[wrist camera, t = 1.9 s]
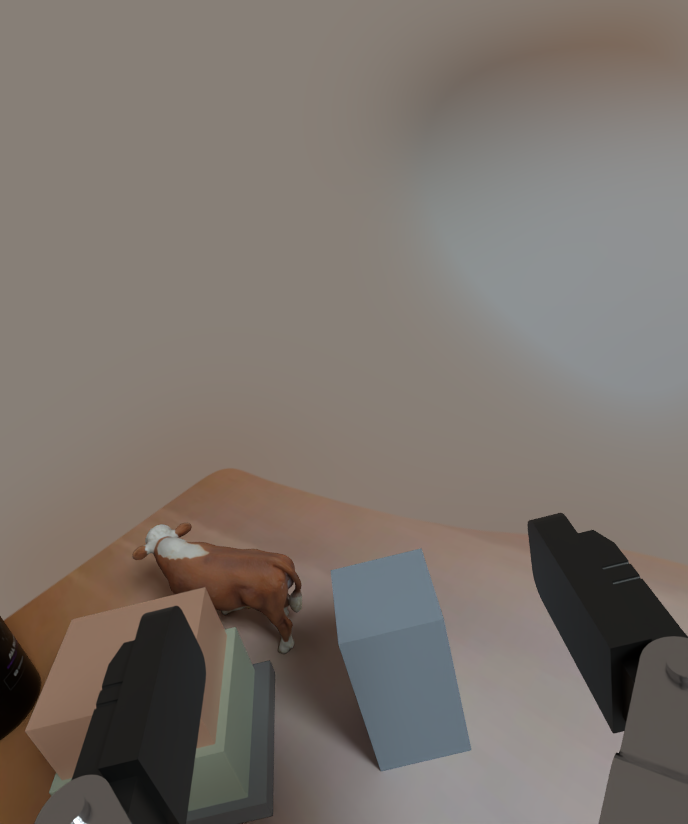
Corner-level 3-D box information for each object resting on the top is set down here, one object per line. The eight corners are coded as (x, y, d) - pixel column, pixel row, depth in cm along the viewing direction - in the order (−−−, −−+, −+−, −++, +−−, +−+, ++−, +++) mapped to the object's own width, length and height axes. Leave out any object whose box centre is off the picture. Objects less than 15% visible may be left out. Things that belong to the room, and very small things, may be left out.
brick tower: (72, 862, 31) (-15, 758, 27) (115, 711, 39) (52, 612, 35) (272, 815, 31) (216, 703, 27) (275, 672, 39) (231, 569, 35)
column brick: (381, 771, 32) (338, 644, 27) (369, 691, 36) (330, 570, 32) (471, 750, 32) (443, 619, 27) (448, 672, 36) (421, 548, 32)
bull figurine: (189, 585, 49) (153, 507, 45) (328, 620, 42) (299, 531, 38) (153, 627, 46) (110, 546, 42) (298, 671, 39) (262, 579, 35)
